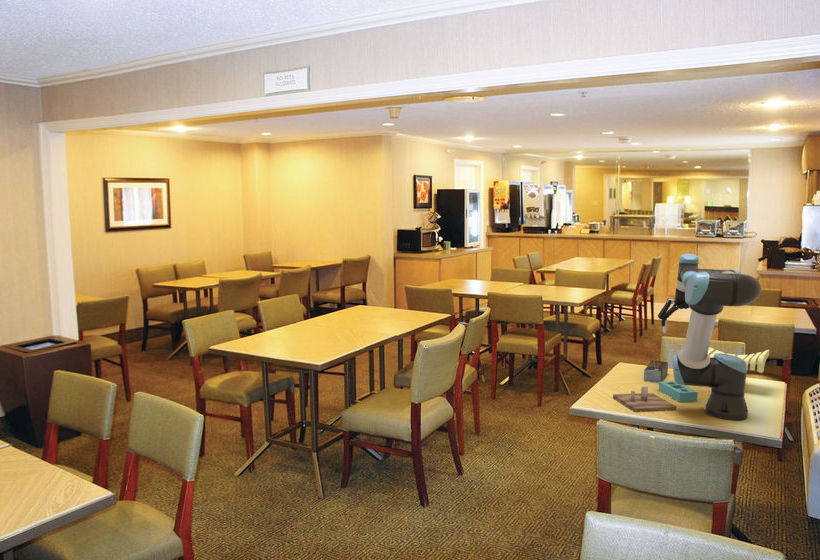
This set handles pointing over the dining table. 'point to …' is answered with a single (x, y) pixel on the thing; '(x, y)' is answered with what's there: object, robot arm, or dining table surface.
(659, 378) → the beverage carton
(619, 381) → the dining table surface
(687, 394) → the teal block with holes
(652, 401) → the post base
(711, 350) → the slatted curved stool
